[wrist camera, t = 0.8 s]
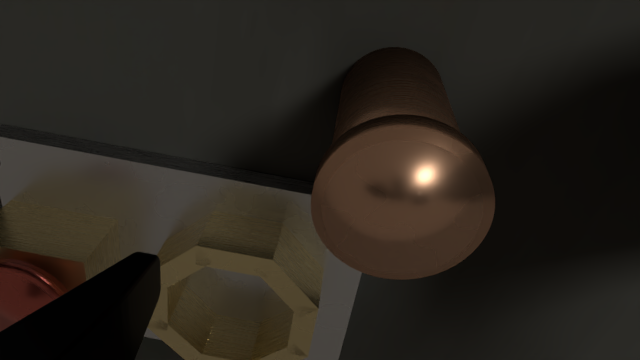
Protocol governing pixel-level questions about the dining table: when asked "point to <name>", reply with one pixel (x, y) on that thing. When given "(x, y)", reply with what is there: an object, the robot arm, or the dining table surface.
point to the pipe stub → (400, 173)
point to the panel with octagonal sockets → (173, 246)
